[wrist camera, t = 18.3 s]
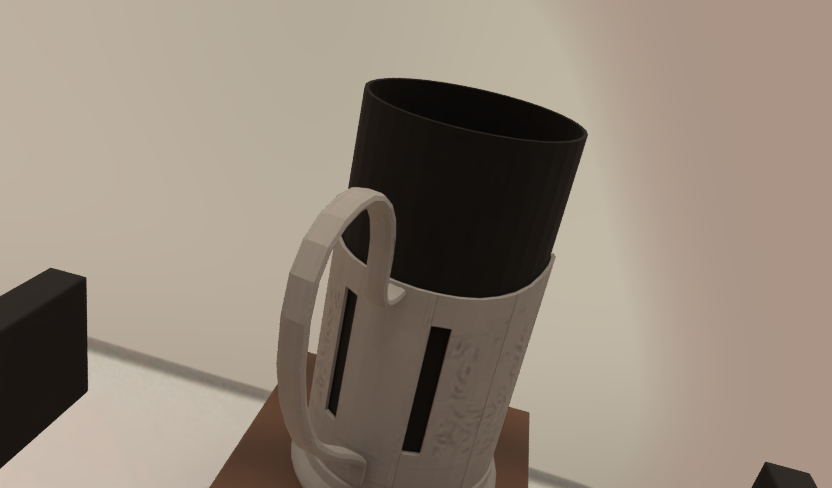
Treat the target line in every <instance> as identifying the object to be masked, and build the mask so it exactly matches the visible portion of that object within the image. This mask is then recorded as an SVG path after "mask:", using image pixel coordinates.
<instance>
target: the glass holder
mask: <svg viewBox="0 0 832 488" xmlns="http://www.w3.org/2000/svg"><path fill="white" fill-rule="evenodd" d="M587 136H588V134H587V131H586V130H585V129H584V128H583V127H582V126H581V125H579V124H578V123H576V122H575V121H573V120H571V119H569V118H567V117H565V116H563V115H561V114H559V113H556V112H554V111H552V110H549V109H546V108H544V107H541V106H538V105H535V104H532V103H529V102H526V101H523V100H520V99H516V98H513V97H509V96H506V95H502V94H498V93H494V92H490V91H486V90H481V89H477V88H471V87H467V86H462V85H456V84H451V83H445V82H437V81H430V80H421V79H409V78H384V79H376V80H372V81H369V82H368V83H366V85H365V88H364V94H363V101H362V107H361V113H360V119H359V125H358V131H357V138H356V144H355V150H354V156H353V162H352V168H351V174H350V181H349V187H348V190H346V191H344V192H342V193H340V194H339V195H337V196H336V197H335V198H334V199H333V200H332V201H331V202H330V203H329V204H328V205H327V206H326V207H325V208H324V209H323V210H322V211H321V212H320V214H319V215H318V217H317V218H316V220H315V221H314V223H313V224H312V226H311V227H310V229H309V230H308V232H307V234H306V235H305V237H304V238H303V241H302V243H301V246H300V248H299V251H298V253H297V255H296V258H295V260H294V263H293V265H292V268H291V270H290V273H289V278H288V282H287V288H286V292H285V297H284V302H283V306H282V311H281V318H280V329H279V330H280V331H279V341H278V353H277V378H278V395H279V403H280V407H281V410H282V414H283V418H284V421H285V425H286V427H287V430H288V432H289V434H290V436H291V438H292V443H291V459H292V463H293V468H294V472H295V474H296V476H297V478H298V480H299V482H300V484H301V486H302V487H303V488H495V483H496V468H495V462H494V456H493V455H494V452H495V448H496V445H497V442H498V439H499V436H500V432H501V429H502V426H503V423H504V420H505V416H506V413H507V410H508V407H509V404H510V400H511V397H512V394H513V391H514V387H515V384H516V381H517V378H518V375H519V372H520V369H521V365H522V362H523V359H524V356H525V352H526V349H527V346H528V343H529V340H530V336H531V333H532V330H533V327H534V324H535V320H536V318H537V314H538V311H539V308H540V305H541V302H542V298H543V295H544V292H545V288H546V286H547V282H548V279H549V276H550V273H551V269H552V266H553V263H554V260H555V255H554V254H551V252H552V249H553V246H554V243H555V239H556V236H557V233H558V230H559V227H560V223H561V220H562V217H563V214H564V210H565V207H566V204H567V201H568V197H569V194H570V191H571V188H572V185H573V181H574V178H575V175H576V172H577V168H578V165H579V162H580V159H581V155H582V152H583V149H584V146H585V142H586V139H587ZM333 248H334V249H333ZM332 249H333V256H332V261H331V268H330V274H329V280H328V287H327V293H326V299H325V306H324V312H323V318H322V325H321V331H320V337H319V344H318V350H317V356H316V362H315V369H314V375H313V381H312V388H311V394H310V400H309V407H308V406H307V388H306V364H307V354H308V344H309V334H310V324H311V318H312V314H313V309H314V305H315V300H316V295H317V291H318V286H319V282H320V279H321V277H322V274H323V272H324V269H325V267H326V264H327V261H328V259H329V256H330V254H331V251H332Z"/></svg>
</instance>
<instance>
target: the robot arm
mask: <svg viewBox="0 0 832 488" xmlns="http://www.w3.org/2000/svg"><path fill="white" fill-rule="evenodd" d="M86 293H87V288H86V277H83V276H79V275H76V274H72V273H68V272H65V271H61V270H57V269H53V268H49V269H48V270H46V271H44V272H42V273H40V274H39V275H37V276H35V277H33V278H32V279H30V280H28V281H26V282H25V283H23V284H21V285H19V286H17V287H16V288H14V289H12V290H10V291H9V292H7V293H5V294H3V295H2V296H0V469H1V468H2V467H3V466H4V465H5V464H6V463H7V462H8V461H10V460H11V459H12V458H13V457H14V456H15V455H16V454H17V453H19V452H20V451H21V450H22V449H23V448H24V447H25V446H26V445H28V444H29V443H30V442H31V441H32V440H33V439H34V438H36V437H37V436H38V435H39V434H40V433H41V432H42V431H43V430H45V429H46V428H47V427H48V426H49V425H50V424H51V423H52V422H54V421H55V420H56V419H57V418H58V417H59V416H60V415H61V414H63V413H64V412H65V411H66V410H67V409H68V408H69V407H70V406H72V405H73V404H74V403H75V402H76V401H77V400H78V399H80V398H81V397H82V396H83V395H84V394H85V393H86V392H87V391H88V358H87V294H86ZM752 488H817V486H816V484H815V482H814V481H813V479H812V477H811V476H810V474H809V473H806V472H802V471H798V470H795V469H791V468H787V467H783V466H780V465H776V464H772V463H768V462H765V463H764V465H763V467H762V469H761V471H760V473H759V475H758V477H757V479H756V480H755V482H754V484H753V486H752Z"/></svg>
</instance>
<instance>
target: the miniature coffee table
mask: <svg viewBox="0 0 832 488" xmlns="http://www.w3.org/2000/svg"><path fill="white" fill-rule="evenodd" d="M316 356H317V354H313V353H310V352H308V354H307V364H306V388H307V406H308V407H309V400H310V394H311V388H312V381H313V375H314V369H315V362H316ZM291 443H292V438H291V436H290V434H289V432H288V430H287V427H286V425H285V421H284V418H283V414H282V410H281V407H280V403H279V395H278V384H277V386H276V387H275V389H274V390H273V392H272V393H271V395H270V396H269V398H268V399H267V401H266V402H265V404H264V405H263V407H262V409H261V410H260V412H259V413H258V415H257V416H256V418H255V419H254V421H253V422H252V424H251V425H250V427H249V428H248V430H247V431H246V433H245V434H244V436H243V437H242V439H241V440H240V442H239V443H238V445H237V446H236V448H235V450H234V451H233V453H232V454H231V456H230V457H229V459H228V460H227V462H226V463H225V465H224V466H223V468H222V469H221V471H220V472H219V474H218V475H217V477H216V478H215V480H214V481H213V483H212V484H211V486H210V487H209V488H303V487H302V486H301V484H300V482H299V480H298V478H297V476H296V474H295V472H294V468H293V463H292V459H291ZM493 456H494V462H495V468H496V483H495V488H528V464H529V462H528V461H529V412H526V411H522V410H518V409H514V408H511V407H508V410H507V413H506V416H505V420H504V423H503V426H502V429H501V432H500V436H499V439H498V442H497V445H496V448H495V452H494V455H493Z"/></svg>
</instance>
